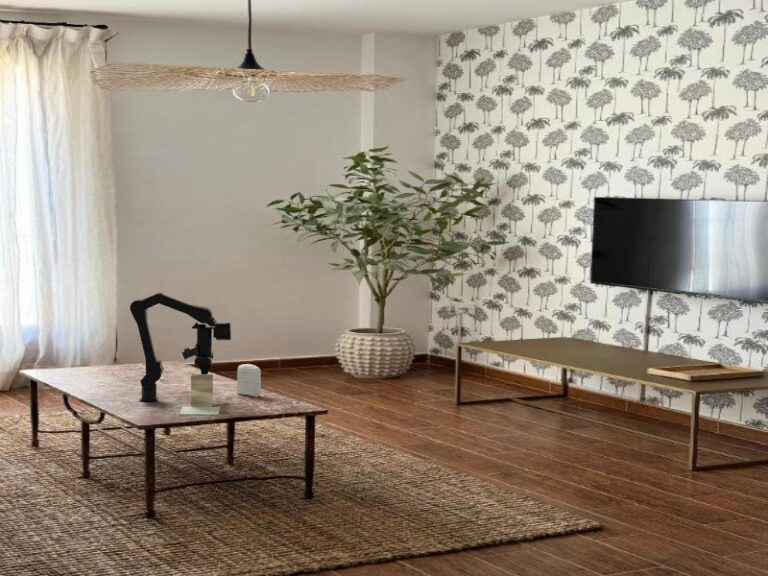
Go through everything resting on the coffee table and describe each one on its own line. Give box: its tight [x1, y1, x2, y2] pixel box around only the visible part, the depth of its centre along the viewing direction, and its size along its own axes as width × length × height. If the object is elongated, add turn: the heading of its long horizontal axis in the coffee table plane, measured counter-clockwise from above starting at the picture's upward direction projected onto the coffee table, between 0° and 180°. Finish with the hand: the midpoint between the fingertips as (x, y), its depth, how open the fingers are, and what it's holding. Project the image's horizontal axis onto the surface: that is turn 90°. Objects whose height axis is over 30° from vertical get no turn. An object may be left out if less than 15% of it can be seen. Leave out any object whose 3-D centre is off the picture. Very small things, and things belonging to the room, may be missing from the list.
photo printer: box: [236, 363, 262, 398], centre depth 460 cm, size 10×4×12 cm, turn 56°
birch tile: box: [190, 373, 214, 407], centre depth 435 cm, size 4×8×12 cm, turn 95°
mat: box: [179, 406, 221, 416], centre depth 426 cm, size 14×14×1 cm
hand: (204, 380), depth 446 cm, fingers closed
